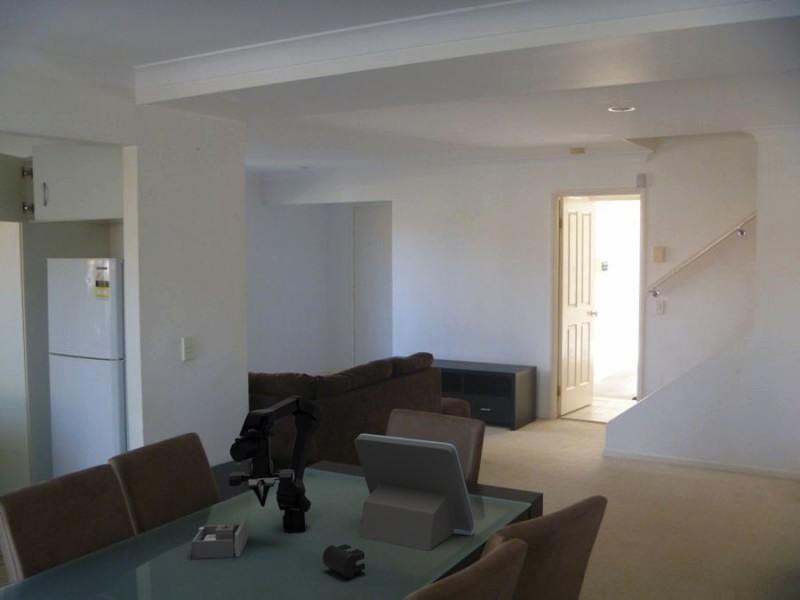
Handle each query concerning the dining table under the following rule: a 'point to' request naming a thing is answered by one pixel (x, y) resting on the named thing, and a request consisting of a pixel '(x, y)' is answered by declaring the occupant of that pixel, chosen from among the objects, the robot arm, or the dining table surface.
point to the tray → (236, 537)
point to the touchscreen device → (412, 491)
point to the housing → (211, 545)
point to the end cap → (344, 560)
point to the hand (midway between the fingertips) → (263, 506)
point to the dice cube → (225, 532)
